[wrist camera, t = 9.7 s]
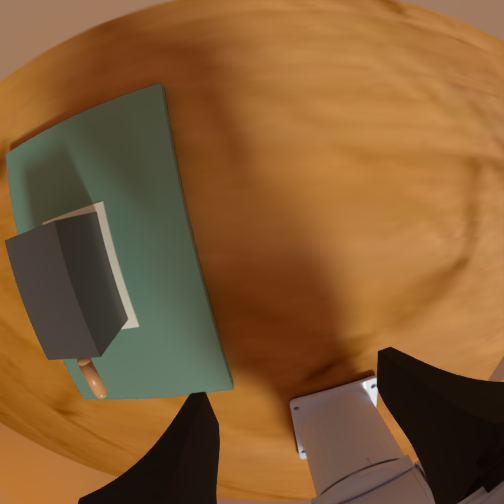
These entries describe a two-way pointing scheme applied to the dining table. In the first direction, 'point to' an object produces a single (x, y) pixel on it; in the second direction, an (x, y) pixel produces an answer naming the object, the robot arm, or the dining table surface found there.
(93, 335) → the block
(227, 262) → the dining table surface
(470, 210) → the dining table surface
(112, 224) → the board
